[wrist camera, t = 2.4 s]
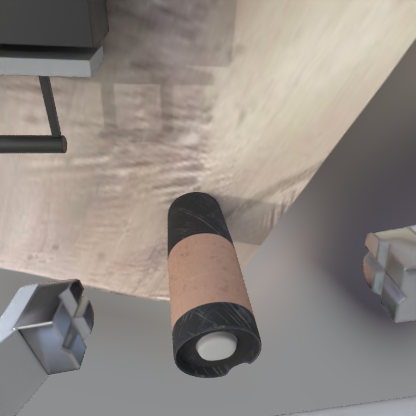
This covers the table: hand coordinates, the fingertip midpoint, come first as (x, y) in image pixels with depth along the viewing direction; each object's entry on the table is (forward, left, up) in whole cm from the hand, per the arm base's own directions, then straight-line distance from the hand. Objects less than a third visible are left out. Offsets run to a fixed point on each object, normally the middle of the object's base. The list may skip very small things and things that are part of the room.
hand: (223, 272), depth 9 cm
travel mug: (+19, +3, -29) cm, 34 cm away
